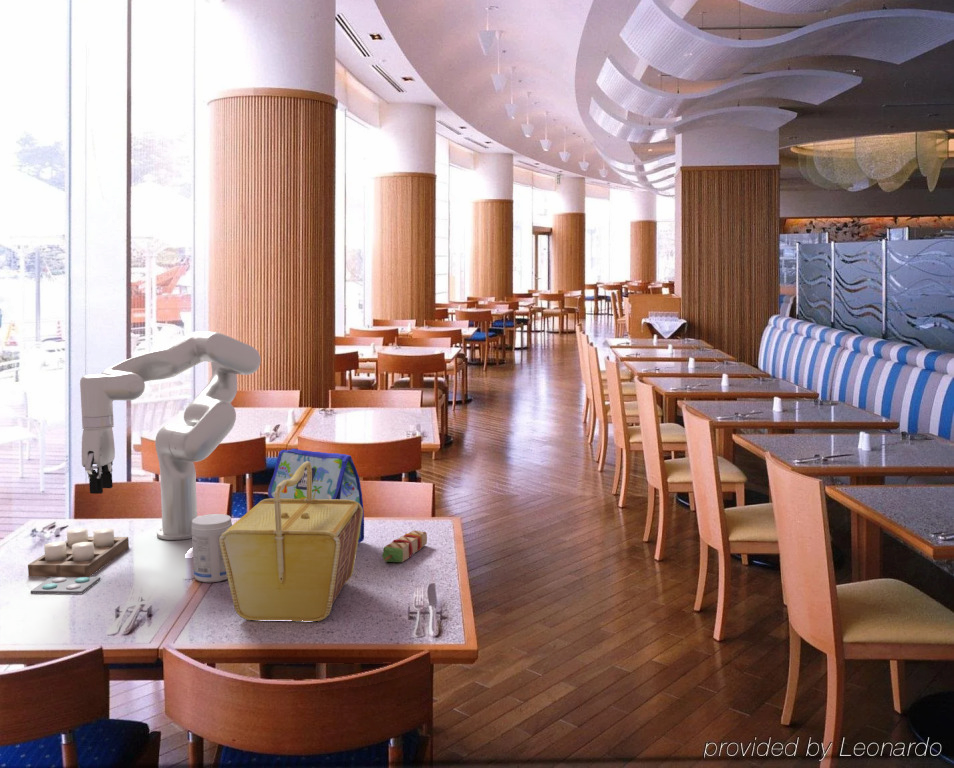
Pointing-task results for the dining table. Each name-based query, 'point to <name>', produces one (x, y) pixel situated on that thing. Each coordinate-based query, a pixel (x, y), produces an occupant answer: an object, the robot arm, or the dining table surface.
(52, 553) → the button
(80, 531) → the button
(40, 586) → the tile
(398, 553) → the skewer
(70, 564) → the button box
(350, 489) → the lunch bag
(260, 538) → the picnic basket
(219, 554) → the supplement tub
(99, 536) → the button
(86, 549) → the button
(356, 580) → the dining table surface
